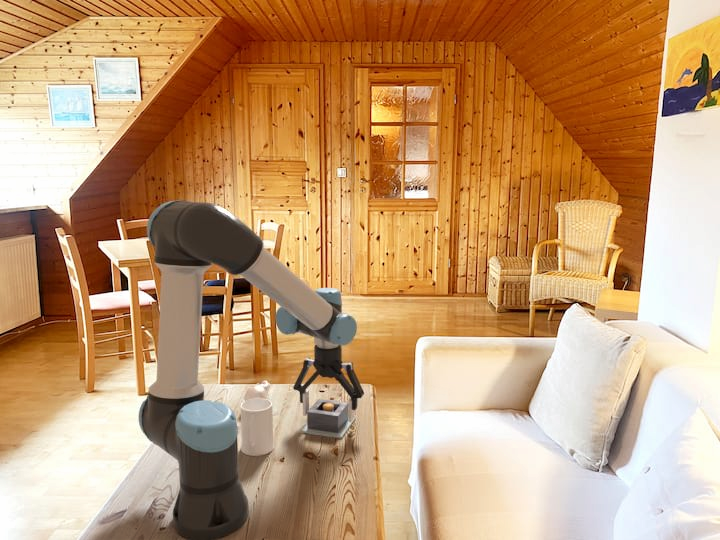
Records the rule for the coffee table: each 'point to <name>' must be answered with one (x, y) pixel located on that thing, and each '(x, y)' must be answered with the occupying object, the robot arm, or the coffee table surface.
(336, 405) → the hollow square block
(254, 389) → the figurine
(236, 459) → the robot arm
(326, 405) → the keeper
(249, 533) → the coffee table surface
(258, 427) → the mug
